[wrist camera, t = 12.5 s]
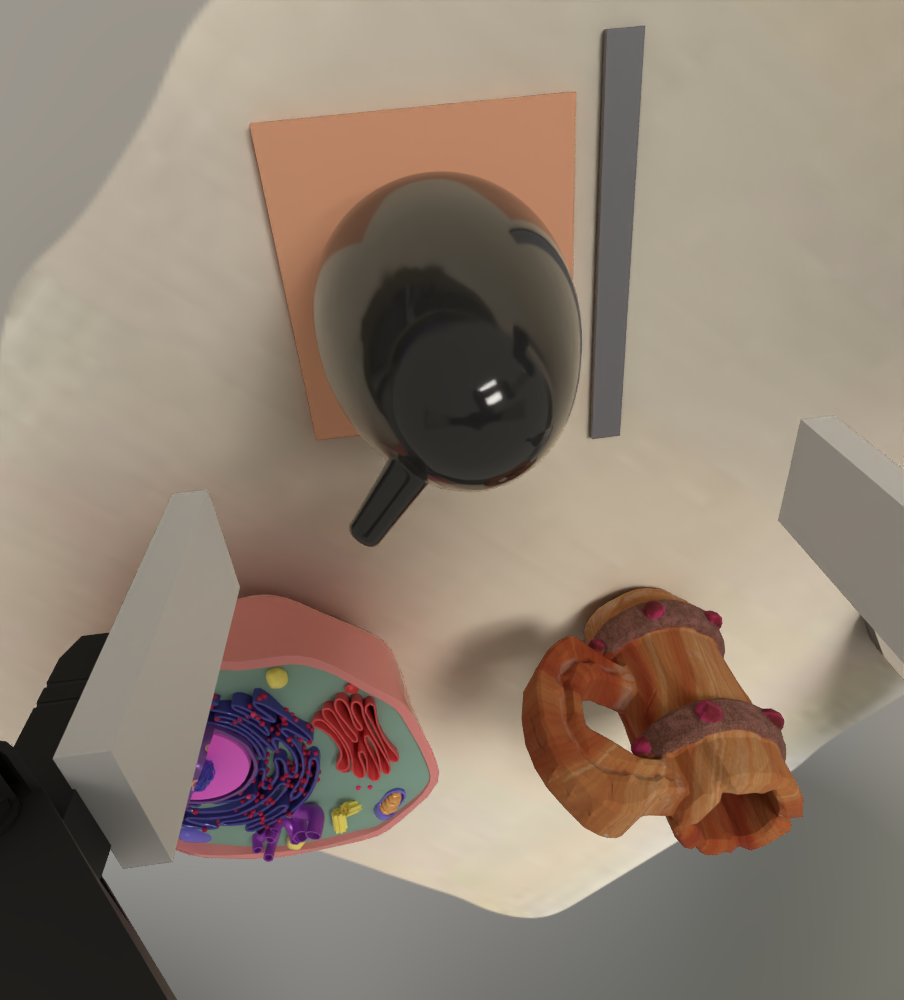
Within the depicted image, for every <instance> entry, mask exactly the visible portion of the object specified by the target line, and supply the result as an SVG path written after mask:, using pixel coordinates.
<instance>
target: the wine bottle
mask: <svg viewBox="0 0 904 1000" xmlns="http://www.w3.org/2000/svg"><path fill="white" fill-rule="evenodd" d="M863 619H864V618H863ZM864 622H865V624H866V627H867V630H868V632H869V635H870V638H871V640H872V641H873V643H874V644H875V646H876V648H877V649H878V650H879V651H880V652H881V654H882V655H883V656H884V657H885V658H886V659H887V661H888V662H889V663H890V664H891V665H892V666H893V667H894V669H895V670H896V671H897V672H898V673H899V674H900V675H901V677H902V678H903V679H904V664H903V662H902V661H901V660H900V659H899V658H898V657H897V656H896V654H895V653H894V652H893V651H892V650H891V649H890V648H889V646H888V645H887V644H886V643H885V642H884V641H883V640H882V638H881V637H880V636H879V635H878V634H877V633H876V632H875V630H874V629H873V628H872V627H871V626H870V625H869V624H868V622H867V621H866V620H865V619H864Z"/></svg>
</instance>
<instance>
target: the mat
mask: <svg viewBox="0 0 904 1000" xmlns="http://www.w3.org/2000/svg"><path fill="white" fill-rule="evenodd" d="M575 120H576V92H564V93H554V94H544V95H534V96H523V97H513V98H503V99H493V100H483V101H473V102H462V103H452V104H442V105H432V106H422V107H412V108H401V109H391V110H381V111H371V112H361V113H350V114H340V115H330V116H320V117H310V118H300V119H289V120H279V121H269V122H259V123H251V124H250V129H251V134H252V138H253V143H254V148H255V153H256V157H257V162H258V167H259V172H260V176H261V181H262V186H263V190H264V195H265V200H266V205H267V209H268V214H269V219H270V223H271V228H272V233H273V238H274V242H275V247H276V252H277V257H278V261H279V266H280V271H281V275H282V280H283V285H284V290H285V294H286V299H287V304H288V308H289V313H290V318H291V323H292V327H293V332H294V337H295V342H296V346H297V351H298V356H299V360H300V365H301V370H302V375H303V379H304V384H305V389H306V394H307V398H308V403H309V408H310V412H311V417H312V422H313V427H314V431H315V436H316V440H322V439H330V438H339V437H347V436H355V435H359V433H358V432H357V431H356V430H355V428H354V427H353V426H352V424H351V423H350V421H349V420H348V419H347V417H346V416H345V414H344V412H343V411H342V409H341V407H340V406H339V404H338V402H337V400H336V398H335V396H334V395H333V392H332V390H331V388H330V386H329V383H328V381H327V378H326V376H325V373H324V370H323V367H322V364H321V360H320V357H319V353H318V349H317V344H316V340H315V335H314V329H313V319H312V294H313V286H314V280H315V275H316V270H317V267H318V263H319V260H320V257H321V254H322V252H323V249H324V247H325V245H326V243H327V241H328V239H329V237H330V236H331V234H332V232H333V231H334V229H335V228H336V226H337V225H338V224H339V222H340V221H341V220H342V218H343V217H344V216H345V215H346V214H347V213H348V212H349V210H350V209H351V208H352V207H353V206H355V205H356V204H357V203H358V202H359V201H360V200H362V199H363V198H364V197H365V196H367V195H368V194H370V193H371V192H373V191H374V190H376V189H378V188H379V187H381V186H383V185H385V184H387V183H389V182H392V181H394V180H397V179H399V178H402V177H405V176H409V175H413V174H418V173H424V172H435V171H448V172H458V173H464V174H469V175H473V176H477V177H480V178H483V179H486V180H488V181H490V182H493V183H495V184H497V185H499V186H501V187H503V188H504V189H506V190H508V191H509V192H511V193H512V194H514V195H515V196H516V197H518V198H519V199H520V200H521V201H523V202H524V203H525V204H526V205H527V206H528V207H529V208H530V209H531V210H532V211H533V212H534V213H535V214H536V215H537V216H538V217H539V218H540V219H541V221H542V222H543V223H544V224H545V226H546V227H547V228H548V230H549V231H550V233H551V234H552V236H553V237H554V239H555V241H556V243H557V245H558V246H559V248H560V250H561V253H562V255H563V257H564V259H565V262H566V264H567V266H568V269H569V272H570V274H571V277H572V280H573V237H574V179H575Z"/></svg>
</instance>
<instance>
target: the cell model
mask: <svg viewBox="0 0 904 1000" xmlns="http://www.w3.org/2000/svg"><path fill="white" fill-rule="evenodd" d="M438 775H439V770H438V766H437V762H436V759H435V757H434V754H433V752H432V749H431V747H430V745H429V743H428V741H427V739H426V737H425V735H424V732H423V730H422V728H421V726H420V723H419V721H418V719H417V716H416V714H415V712H414V709H413V707H412V705H411V702H410V698H409V695H408V691H407V688H406V684H405V681H404V677H403V675H402V672H401V670H400V668H399V665H398V663H397V661H396V659H395V656H394V654H393V652H392V650H391V649H390V647H389V646H388V645H387V644H386V643H385V642H384V641H383V640H381V639H380V638H378V637H376V636H375V635H373V634H371V633H370V632H367V631H365V630H363V629H361V628H358V627H356V626H353V625H351V624H348V623H346V622H344V621H341V620H339V619H336V618H334V617H331V616H329V615H327V614H324V613H322V612H320V611H318V610H315V609H313V608H311V607H309V606H307V605H304V604H302V603H300V602H298V601H295V600H292V599H289V598H286V597H282V596H277V595H252V596H247V597H243V598H238V599H237V601H236V605H235V609H234V614H233V618H232V622H231V626H230V630H229V634H228V638H227V642H226V646H225V650H224V654H223V658H222V662H221V667H220V671H219V675H218V679H217V683H216V687H215V691H214V695H213V699H212V703H211V707H210V711H209V715H208V720H207V724H206V728H205V732H204V736H203V740H202V744H201V748H200V752H199V756H198V760H197V764H196V768H195V772H194V777H193V781H192V785H191V789H190V793H189V797H188V801H187V805H186V809H185V813H184V817H183V821H182V825H181V830H180V834H179V838H178V842H177V846H176V850H178V851H180V852H183V853H186V854H189V855H194V856H199V857H204V858H231V859H256V858H263V859H264V860H265V861H268V862H270V861H272V860H273V858H274V857H282V856H290V855H297V854H302V853H307V852H312V851H316V850H321V849H325V848H330V847H335V846H340V845H344V844H349V843H353V842H358V841H362V840H365V839H369V838H372V837H375V836H378V835H380V834H382V833H384V832H386V831H387V830H389V829H390V828H392V827H393V826H394V825H395V824H397V823H398V822H399V821H400V820H402V819H403V818H404V817H405V816H406V815H407V814H409V813H410V812H411V811H412V810H413V809H414V808H415V807H417V806H418V805H419V804H420V803H421V802H422V801H423V800H424V799H426V798H427V797H428V795H429V794H430V792H431V791H432V789H433V788H434V786H435V785H436V783H437V782H438Z"/></svg>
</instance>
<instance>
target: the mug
mask: <svg viewBox="0 0 904 1000" xmlns="http://www.w3.org/2000/svg"><path fill="white" fill-rule="evenodd" d="M721 625H722V618H721V617H720V615H719V614H718V613H716V612H713V611H704V610H702V609H701V608H699V607H696V606H694V605H692V604H690V603H688V602H687V601H685V600H683V599H681V598H678V597H677V596H675V595H673V594H671V593H669V592H667V591H665V590H662V589H653V588H642V589H635V590H632V591H629V592H626V593H624V594H622V595H620V596H619V597H617V598H615V599H613V600H611V601H609V602H607V603H606V604H604V605H603V606H601V607H600V608H598V609H597V610H596V611H595V612H594V614H593V615H592V616H591V617H590V619H589V620H588V621H587V624H586V627H585V630H584V642H582V641H581V640H579V639H577V638H575V637H574V636H569V637H565V638H564V639H562V640H560V641H558V642H557V643H556V644H555V645H553V646H552V647H551V648H550V649H549V650H548V651H547V652H546V654H545V656H544V657H543V659H542V660H541V662H540V664H539V665H538V667H537V669H536V670H535V672H534V674H533V676H532V678H531V680H530V681H529V683H528V685H527V687H526V688H525V690H524V692H523V707H522V725H523V732H524V738H525V745H526V748H527V750H528V752H529V755H530V757H531V760H532V762H533V765H534V768H535V769H536V771H537V772H538V774H539V776H540V777H541V779H542V780H543V782H544V784H545V785H546V787H547V788H548V790H549V791H550V792H551V793H552V794H553V795H554V796H555V797H556V799H557V800H558V801H559V802H560V803H561V804H562V805H563V807H564V808H565V809H566V810H567V811H568V812H569V813H570V814H571V815H572V816H573V817H574V818H575V819H576V820H577V821H578V822H579V823H580V824H581V825H582V826H583V827H584V828H586V829H588V830H590V831H592V832H594V833H596V834H597V835H600V836H603V837H607V838H617V837H620V836H622V835H623V834H624V833H625V832H626V831H627V830H628V829H629V828H630V827H631V826H632V825H633V824H634V823H635V822H636V821H637V820H638V819H639V818H640V817H642V816H647V815H655V816H666V818H667V820H668V823H669V825H670V827H671V829H672V831H673V834H674V836H675V838H676V839H677V840H678V841H679V842H680V843H681V844H682V845H683V846H684V847H685V848H689V849H693V848H694V847H696V848H697V849H698V850H699V851H700V852H702V853H703V854H705V855H718V854H721V853H724V852H730V853H731V852H732V851H733V850H734V849H735V848H736V847H739V846H741V847H743V848H746V849H748V850H754V849H757V848H760V847H762V846H765V845H766V844H768V843H770V842H772V841H773V840H775V839H777V838H779V837H780V836H782V835H784V834H785V833H787V832H789V831H790V829H791V826H792V825H791V822H790V818H795V817H803V798H802V794H801V791H800V789H799V787H798V784H797V783H796V781H795V779H794V777H793V776H792V774H791V772H790V770H789V768H788V767H787V765H786V763H785V760H786V745H785V742H784V740H783V736H782V733H781V730H782V728H783V726H784V719H783V717H782V715H781V714H780V713H779V712H777V711H775V710H773V709H762V708H760V707H757V706H755V705H753V704H752V702H751V701H750V699H749V697H748V696H747V695H746V693H745V692H744V690H743V689H742V688H741V686H740V685H739V683H738V682H737V680H736V678H735V677H734V675H733V673H732V672H731V670H730V669H729V667H728V665H727V664H726V662H725V660H724V659H723V658H724V653H725V646H724V640H723V638H722V635H721V633H720V631H719V629H720V628H721ZM586 700H591V701H593V702H595V703H597V704H599V705H603V706H606V707H608V708H610V709H612V710H614V711H616V712H618V714H619V716H620V718H621V720H622V722H623V724H624V727H625V730H626V733H627V735H628V738H629V741H630V744H631V751H632V753H633V754H632V753H630V752H629V751H627V750H626V749H624V748H622V747H621V746H619V745H618V744H616V743H614V742H613V741H611V740H609V739H608V738H606V737H604V736H602V735H600V734H598V733H597V732H595V731H593V730H591V729H590V728H589V727H588V726H587V725H586V724H585V720H584V715H583V709H582V702H581V701H586Z"/></svg>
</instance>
